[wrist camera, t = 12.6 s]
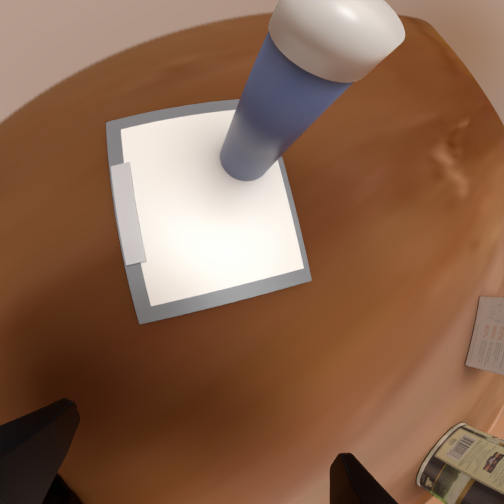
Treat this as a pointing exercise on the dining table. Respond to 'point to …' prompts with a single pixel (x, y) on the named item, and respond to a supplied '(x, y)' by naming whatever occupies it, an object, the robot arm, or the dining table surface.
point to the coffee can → (465, 468)
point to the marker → (304, 75)
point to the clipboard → (197, 215)
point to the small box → (488, 336)
